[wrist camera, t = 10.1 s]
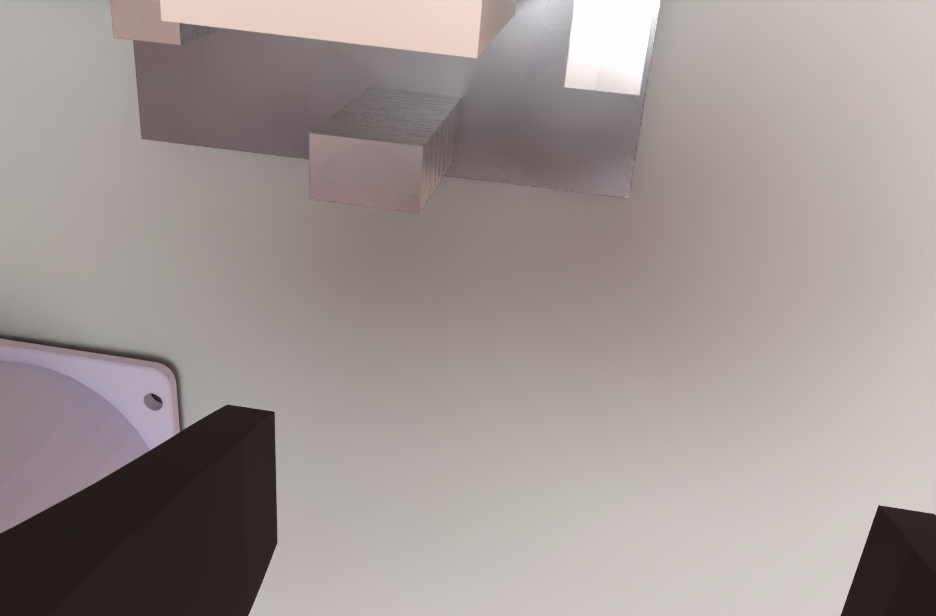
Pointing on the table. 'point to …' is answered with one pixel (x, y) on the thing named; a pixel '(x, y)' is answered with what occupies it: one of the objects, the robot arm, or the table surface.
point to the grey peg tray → (409, 101)
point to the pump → (358, 21)
